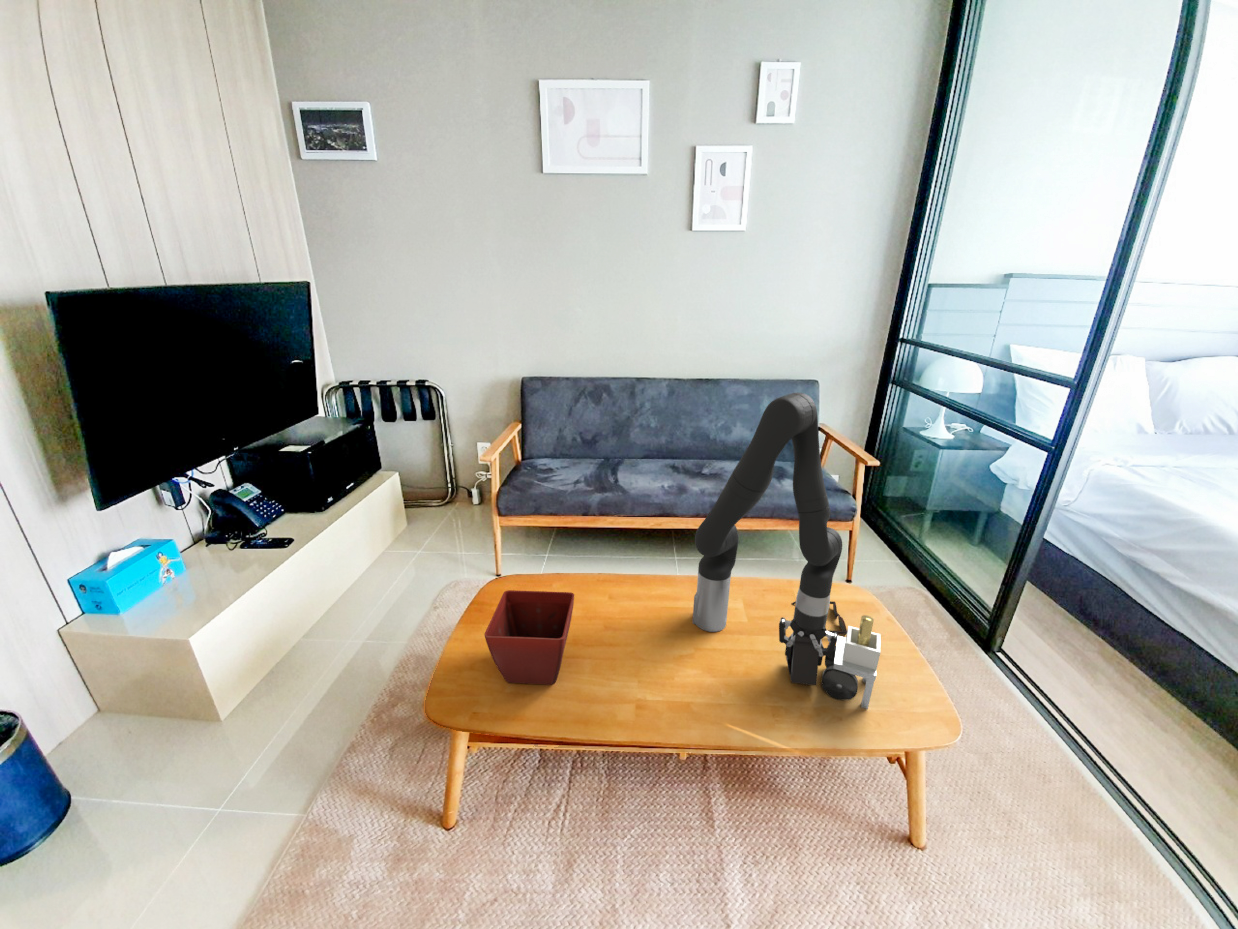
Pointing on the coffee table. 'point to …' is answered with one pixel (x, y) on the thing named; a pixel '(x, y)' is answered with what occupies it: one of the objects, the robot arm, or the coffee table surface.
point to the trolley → (846, 676)
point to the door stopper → (803, 661)
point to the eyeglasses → (841, 621)
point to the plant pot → (530, 635)
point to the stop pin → (865, 630)
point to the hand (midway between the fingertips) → (802, 660)
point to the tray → (862, 649)
